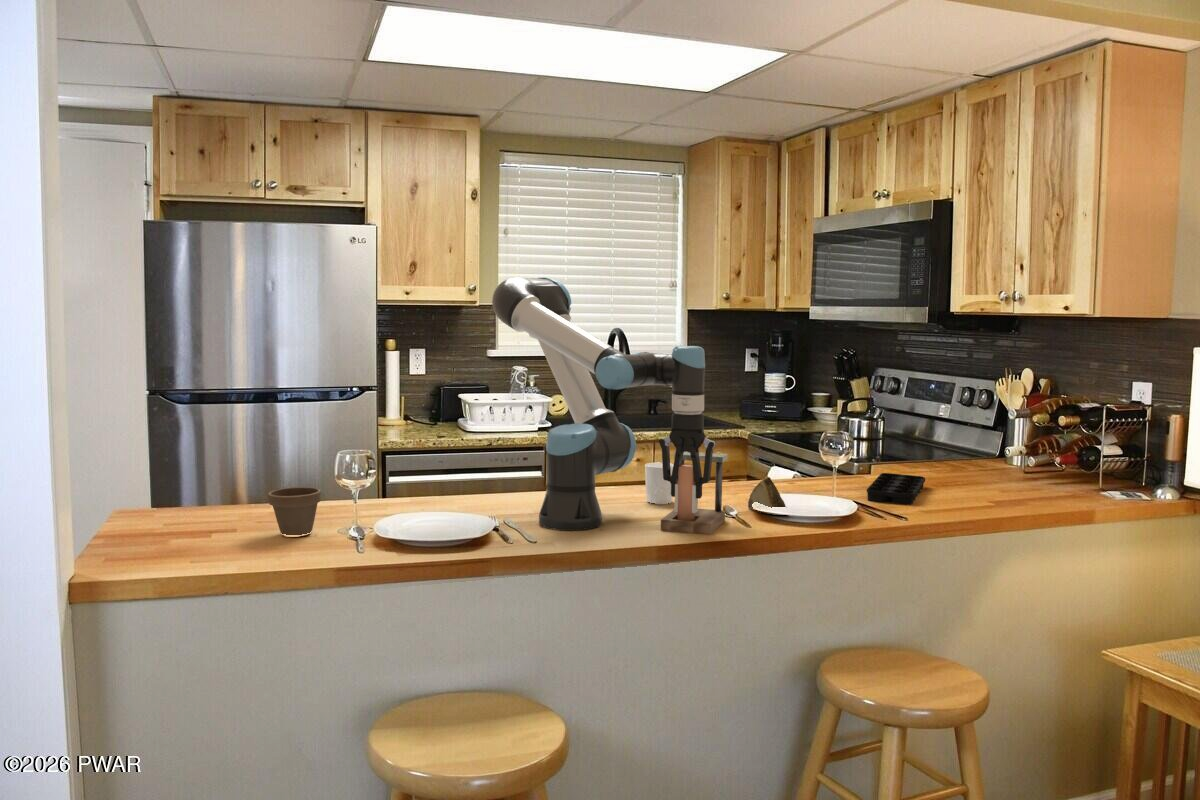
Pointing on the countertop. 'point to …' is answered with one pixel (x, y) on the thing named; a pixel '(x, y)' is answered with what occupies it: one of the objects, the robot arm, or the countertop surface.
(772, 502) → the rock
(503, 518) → the countertop surface
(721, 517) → the socket board
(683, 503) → the peg
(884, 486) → the egg carton
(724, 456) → the two-post gate frame
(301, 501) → the flower pot
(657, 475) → the white cup
